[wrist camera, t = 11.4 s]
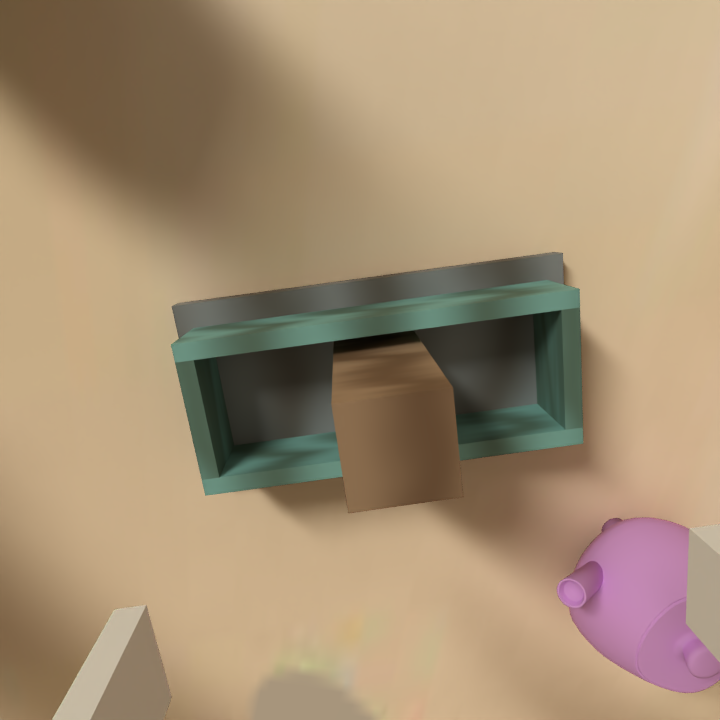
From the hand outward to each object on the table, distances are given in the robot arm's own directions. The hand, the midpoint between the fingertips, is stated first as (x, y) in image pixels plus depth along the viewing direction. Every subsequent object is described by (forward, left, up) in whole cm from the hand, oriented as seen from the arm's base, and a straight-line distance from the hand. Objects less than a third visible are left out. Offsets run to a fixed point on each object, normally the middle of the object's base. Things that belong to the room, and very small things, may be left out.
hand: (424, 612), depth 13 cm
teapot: (+16, -18, -23) cm, 33 cm away
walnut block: (0, 0, -22) cm, 22 cm away
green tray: (+1, 0, -23) cm, 23 cm away
